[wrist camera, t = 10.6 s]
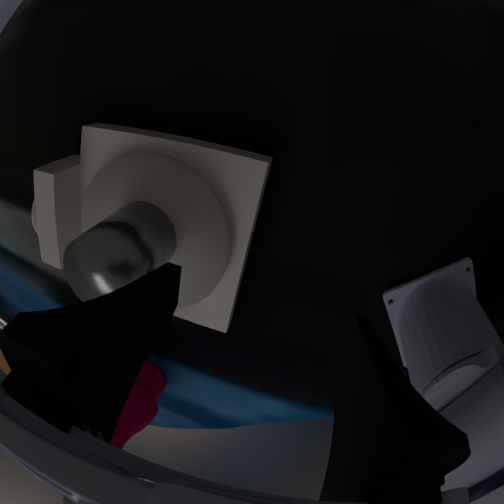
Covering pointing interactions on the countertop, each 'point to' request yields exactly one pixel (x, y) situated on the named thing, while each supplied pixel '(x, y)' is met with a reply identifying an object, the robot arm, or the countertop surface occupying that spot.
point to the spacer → (119, 250)
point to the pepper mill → (138, 407)
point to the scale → (161, 205)
